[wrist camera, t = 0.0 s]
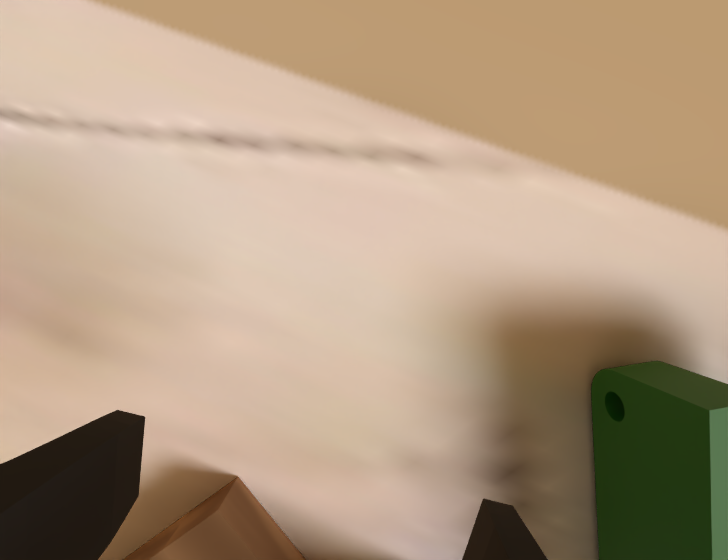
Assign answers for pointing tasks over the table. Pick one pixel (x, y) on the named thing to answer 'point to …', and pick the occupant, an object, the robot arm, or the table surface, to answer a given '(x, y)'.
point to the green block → (660, 463)
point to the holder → (222, 532)
